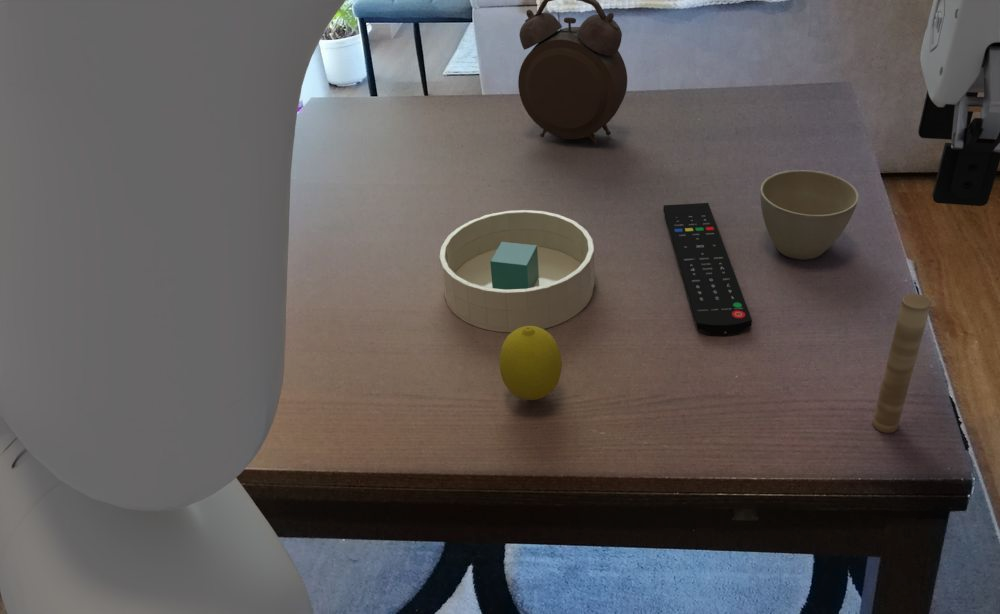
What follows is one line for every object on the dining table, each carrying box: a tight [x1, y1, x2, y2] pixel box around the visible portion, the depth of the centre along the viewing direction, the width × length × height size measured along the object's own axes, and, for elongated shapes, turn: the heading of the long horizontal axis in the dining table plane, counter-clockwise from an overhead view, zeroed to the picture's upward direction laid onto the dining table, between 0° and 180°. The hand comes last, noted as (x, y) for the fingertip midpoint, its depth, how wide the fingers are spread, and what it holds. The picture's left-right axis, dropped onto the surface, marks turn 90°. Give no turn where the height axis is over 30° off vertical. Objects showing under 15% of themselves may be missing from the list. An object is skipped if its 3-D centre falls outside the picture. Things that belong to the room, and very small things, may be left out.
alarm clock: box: [517, 0, 628, 146], centre depth 119 cm, size 15×7×20 cm, turn 65°
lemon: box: [499, 326, 563, 401], centre depth 78 cm, size 6×6×8 cm
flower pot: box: [759, 169, 860, 261], centre depth 95 cm, size 10×10×7 cm
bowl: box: [438, 209, 595, 334], centre depth 93 cm, size 16×16×5 cm
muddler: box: [872, 293, 932, 434], centre depth 70 cm, size 2×2×13 cm
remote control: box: [662, 202, 753, 337], centre depth 95 cm, size 5×24×1 cm, turn 179°
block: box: [490, 242, 539, 290], centre depth 93 cm, size 4×4×4 cm
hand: (949, 167), depth 60 cm, fingers open, 9 cm apart
